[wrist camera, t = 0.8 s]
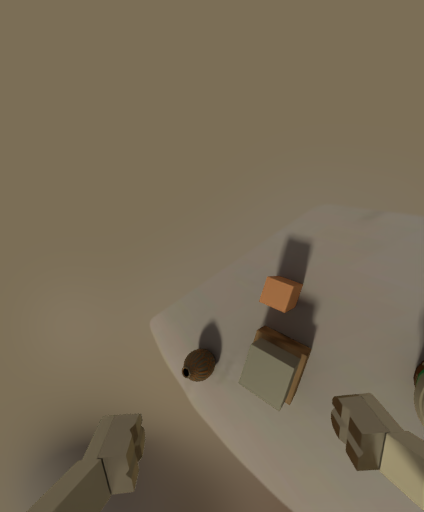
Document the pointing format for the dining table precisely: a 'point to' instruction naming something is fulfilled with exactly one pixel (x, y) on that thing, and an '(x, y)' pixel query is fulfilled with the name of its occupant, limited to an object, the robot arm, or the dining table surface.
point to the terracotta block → (280, 293)
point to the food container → (419, 391)
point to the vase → (198, 365)
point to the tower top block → (269, 372)
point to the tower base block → (289, 346)
